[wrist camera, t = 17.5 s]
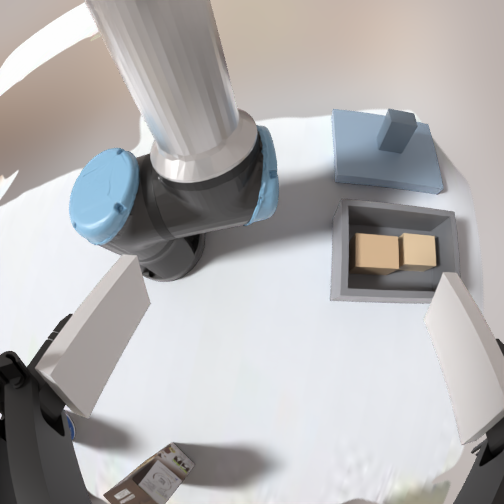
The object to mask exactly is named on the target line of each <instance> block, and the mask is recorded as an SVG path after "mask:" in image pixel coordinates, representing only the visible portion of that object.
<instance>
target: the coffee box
mask: <svg viewBox="0 0 504 504" xmlns="http://www.w3.org/2000/svg"><path fill="white" fill-rule="evenodd" d="M194 466H195V464H194V463H193V462H192V461H191V460H190V459H189V458H188V457H187V456H186V455H185V454H184V453H183V452H182V451H181V450H180V449H179V448H178V447H177V446H176V445H175V444H174V443H170V444H169V445H167V446H166V447H165V448H163V449H162V450H160V451H159V452H158V453H156V454H155V455H153V456H152V457H150V458H149V459H147V460H146V461H144V462H143V463H142V464H141V465H140V466H138V467H137V468H136V469H135V470H134V471H133V472H131V473H130V474H129V475H128V476H127V477H125V478H124V479H123V480H122V481H120V482H119V483H118V484H117V485H115V486H114V487H113V488H112V489H110V490H109V491H108V492H107V493H105V494H104V495H103V496H104V497H105V498H106V499H107V500H108V501H109V502H110V503H111V504H165V503H166V502H167V501H168V500H169V498H170V497H171V496H172V494H173V493H174V492H175V491H176V489H177V488H178V487H179V486H180V484H181V483H182V481H183V480H184V479H185V477H186V476H187V475H188V473H189V472H190V471H191V469H192V468H193V467H194Z"/></svg>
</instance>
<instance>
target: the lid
mask: <svg viewBox="0 0 504 504" xmlns="http://www.w3.org/2000/svg"><path fill="white" fill-rule="evenodd" d="M331 118H332V131H333V147H334V167H335V182H340V183H351V184H361V185H371V186H380V187H388V188H396V189H404V190H411V191H418V192H425V193H431V194H438V193H439V192H440V191H441V190H443V184H442V178H441V173H440V169H439V164H438V160H437V155H436V151H435V147H434V143H433V140H432V136H431V132H430V129H429V126H428V124H424V123H420V122H416V119H415V115H414V114H413V113H408V112H403V111H398V110H393V109H388V112H387V114H386V116H383V115H377V114H370V113H363V112H355V111H347V110H338V109H333V112H332V117H331Z"/></svg>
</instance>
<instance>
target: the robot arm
mask: <svg viewBox="0 0 504 504" xmlns="http://www.w3.org/2000/svg"><path fill="white" fill-rule="evenodd" d="M84 1H85V3H86V5H87V7H88V9H89V11H90V14H91V16H92V18H93V20H94V22H95V24H96V26H97V28H98V30H99V32H100V34H101V36H102V38H103V40H104V42H105V44H106V46H107V48H108V51H109V53H110V54H111V56H112V59H113V60H114V62H115V64H116V66H117V68H118V70H119V72H120V74H121V76H122V78H123V80H124V82H125V84H126V86H127V88H128V90H129V92H130V94H131V95H132V97H133V99H134V101H135V103H136V105H137V107H138V109H139V111H140V113H141V115H142V116H143V118H144V120H145V122H146V124H147V126H148V128H149V129H150V131H151V133H152V135H153V137H154V139H155V140H154V142H153V144H152V147H151V152H150V154H147V155H143V156H140V157H137V158H136V157H135V156H134V155H133V154H132V153H131V152H129V151H125V150H123V149H121V148H112V149H108V150H105V151H103V152H101V153H100V154H98V155H96V156H95V157H94V158H93V159H92V160H91V161H90V162H88V164H87V165H86V166H85V167H84V168H83V170H82V171H81V173H80V175H79V177H78V178H77V180H76V182H75V184H74V186H73V189H72V192H71V196H70V202H69V214H70V219H71V222H72V225H73V227H74V228H75V230H76V231H77V232H78V233H79V234H80V235H81V236H83V237H84V238H85V239H87V240H88V241H89V242H90V243H92V244H94V245H99V246H101V247H103V248H105V249H108V250H110V251H112V252H114V253H117V254H119V255H121V257H120V258H119V259H118V260H117V262H116V263H115V264H114V265H113V266H112V267H111V269H110V270H109V271H108V272H107V273H106V274H105V276H104V277H103V278H102V279H101V280H100V282H99V283H98V284H97V285H96V286H95V288H94V289H93V290H92V291H91V292H90V294H89V295H88V296H87V297H86V299H85V300H84V301H83V302H82V304H81V305H80V306H79V308H78V309H77V310H76V311H75V313H74V314H69V315H68V316H66V317H65V318H64V319H63V320H61V321H60V322H59V324H58V325H57V326H56V328H55V329H54V330H53V331H54V332H52V333H51V334H50V336H49V337H48V340H46V341H45V342H44V344H43V345H42V347H41V348H40V349H39V351H38V352H37V354H36V355H35V357H34V358H33V359H32V361H31V362H30V364H29V365H28V366H27V367H26V366H25V365H24V363H23V362H22V361H21V359H20V358H19V357H18V355H17V354H16V353H15V352H13V351H6V352H4V353H2V354H1V355H0V413H1V414H2V417H1V419H0V504H92V503H91V501H90V498H89V495H88V492H87V490H86V487H85V484H84V481H83V478H82V475H81V472H80V468H79V465H78V461H77V458H76V454H75V451H74V447H73V443H72V439H71V434H70V430H69V425H68V421H67V415H66V413H65V411H64V410H63V409H64V407H65V405H67V406H68V407H69V408H70V409H71V411H72V412H74V413H76V414H78V415H80V416H82V417H85V418H87V419H89V417H90V415H91V413H92V411H93V409H94V407H95V405H96V403H97V401H98V399H99V397H100V395H101V393H102V391H103V389H104V387H105V385H106V383H107V381H108V379H109V377H110V375H111V373H112V372H113V370H114V368H115V366H116V364H117V362H118V360H119V359H120V357H121V355H122V353H123V351H124V349H125V348H126V346H127V344H128V342H129V340H130V339H131V337H132V335H133V333H134V332H135V330H136V328H137V326H138V325H139V323H140V321H141V319H142V318H143V316H144V314H145V312H146V311H147V309H148V307H149V306H150V304H151V303H150V300H149V297H148V293H147V290H146V286H145V283H144V279H143V276H144V277H146V278H149V279H152V280H155V281H160V282H167V281H172V280H176V279H178V278H180V277H182V276H184V275H185V274H187V273H188V272H189V271H190V270H191V269H192V268H193V267H194V266H195V265H196V263H197V262H198V260H199V258H200V256H201V254H202V251H203V248H204V243H205V233H206V232H211V231H216V230H221V229H226V228H231V227H237V226H242V225H243V226H248V225H250V224H252V223H253V222H257V221H261V220H265V219H268V218H269V217H271V216H272V215H273V214H274V213H275V211H276V208H277V205H278V197H279V182H278V175H277V160H276V154H275V148H274V144H273V140H272V137H271V134H270V132H269V130H268V129H267V128H266V127H265V126H258V125H256V123H255V121H254V120H253V118H252V117H251V116H250V115H249V114H248V113H247V112H245V111H244V110H242V109H239V108H237V106H236V101H235V97H234V93H233V89H232V85H231V81H230V77H229V73H228V69H227V65H226V61H225V57H224V53H223V49H222V45H221V41H220V37H219V33H218V30H217V25H216V21H215V18H214V14H213V10H212V6H211V3H210V0H84ZM423 320H424V323H425V325H426V328H427V330H428V333H429V335H430V338H431V341H432V344H433V346H434V349H435V352H436V355H437V358H438V361H439V364H440V367H441V370H442V373H443V376H444V379H445V382H446V386H447V389H448V393H449V396H450V400H451V403H452V407H453V411H454V415H455V419H456V423H457V428H458V432H459V437H460V442H461V445H464V444H467V443H470V442H473V441H476V440H477V439H479V438H480V437H481V436H483V435H484V434H485V433H486V436H487V439H485V440H484V441H483V442H482V443H480V444H479V445H478V446H476V447H475V448H474V449H473V450H472V452H471V453H474V452H476V451H477V450H479V449H480V451H479V452H478V453H477V454H476V456H477V458H476V460H475V462H474V464H473V467H472V469H471V471H470V473H469V475H468V477H467V479H466V481H465V483H464V485H463V487H462V489H461V491H460V492H459V494H458V496H457V498H456V500H455V501H454V503H453V504H504V344H503V343H502V342H501V341H500V340H499V339H495V338H494V336H493V334H492V332H491V330H490V328H489V326H488V324H487V322H486V320H485V319H484V317H483V315H482V313H481V312H480V310H479V308H478V306H477V305H476V303H475V301H474V300H473V298H472V296H471V295H470V293H469V291H468V290H467V288H466V287H465V285H464V283H463V282H462V280H461V279H460V277H459V276H458V274H457V273H454V272H443V274H442V276H441V279H440V282H439V284H438V287H437V289H436V292H435V294H434V297H433V299H432V301H431V304H430V306H429V308H428V311H427V313H426V315H425V317H424V319H423Z"/></svg>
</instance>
